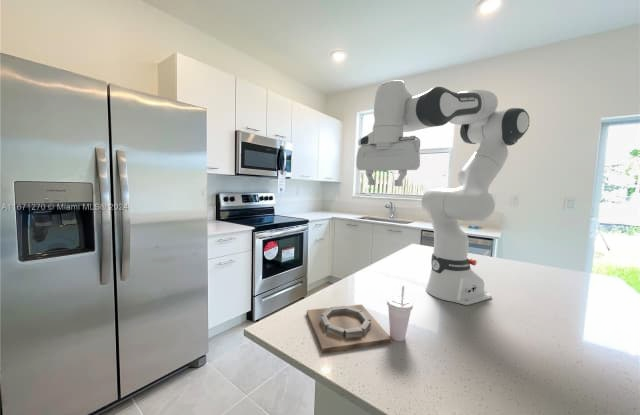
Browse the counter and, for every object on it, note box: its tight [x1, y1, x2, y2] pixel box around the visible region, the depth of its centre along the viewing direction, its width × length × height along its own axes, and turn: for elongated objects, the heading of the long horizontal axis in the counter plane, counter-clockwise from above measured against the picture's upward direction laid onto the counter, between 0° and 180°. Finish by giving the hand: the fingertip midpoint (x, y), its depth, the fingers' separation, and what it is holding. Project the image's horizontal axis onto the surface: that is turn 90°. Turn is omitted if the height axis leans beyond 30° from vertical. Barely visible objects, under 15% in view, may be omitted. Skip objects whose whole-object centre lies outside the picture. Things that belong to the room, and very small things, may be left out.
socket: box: [306, 304, 393, 354], centre depth 70 cm, size 18×18×3 cm
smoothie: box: [386, 284, 414, 342], centre depth 66 cm, size 6×6×14 cm
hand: (384, 185), depth 76 cm, fingers open, 8 cm apart
